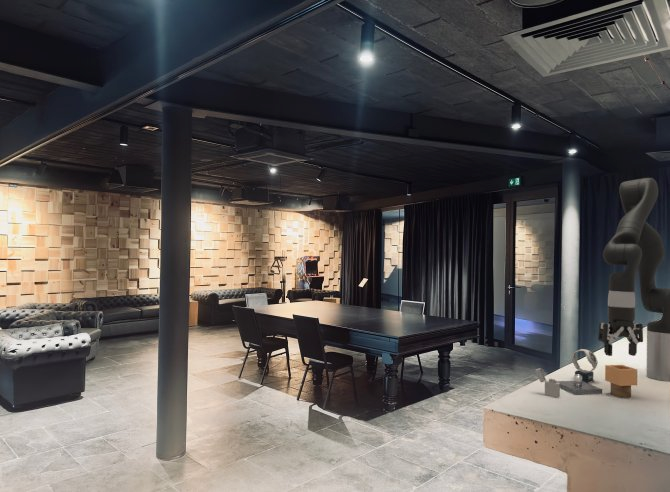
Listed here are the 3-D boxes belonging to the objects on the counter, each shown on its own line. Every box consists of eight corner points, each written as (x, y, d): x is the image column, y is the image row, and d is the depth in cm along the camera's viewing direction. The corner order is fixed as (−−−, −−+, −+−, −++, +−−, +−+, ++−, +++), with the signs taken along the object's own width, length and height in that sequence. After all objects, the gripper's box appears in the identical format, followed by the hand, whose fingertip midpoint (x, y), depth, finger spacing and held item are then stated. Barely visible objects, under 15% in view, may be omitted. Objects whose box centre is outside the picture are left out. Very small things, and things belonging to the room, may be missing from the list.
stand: (621, 392, 150) (621, 371, 150) (635, 397, 145) (635, 375, 145) (606, 392, 150) (606, 371, 150) (619, 398, 144) (620, 376, 144)
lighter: (559, 396, 145) (560, 371, 145) (558, 397, 143) (558, 372, 143) (536, 391, 149) (536, 367, 149) (534, 392, 148) (535, 368, 148)
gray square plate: (581, 384, 158) (581, 370, 158) (602, 393, 148) (602, 378, 148) (554, 385, 157) (555, 371, 157) (574, 394, 147) (574, 379, 147)
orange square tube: (621, 379, 151) (622, 364, 151) (637, 385, 145) (637, 369, 145) (605, 380, 150) (605, 365, 150) (619, 385, 144) (619, 370, 144)
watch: (594, 384, 159) (594, 352, 159) (569, 379, 165) (570, 349, 165) (599, 381, 163) (599, 350, 163) (575, 376, 169) (575, 347, 169)
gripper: (631, 304, 152) (630, 352, 152) (593, 303, 150) (592, 352, 150) (650, 306, 145) (649, 357, 145) (610, 306, 143) (609, 358, 143)
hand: (620, 355), depth 147 cm, fingers open, 8 cm apart
